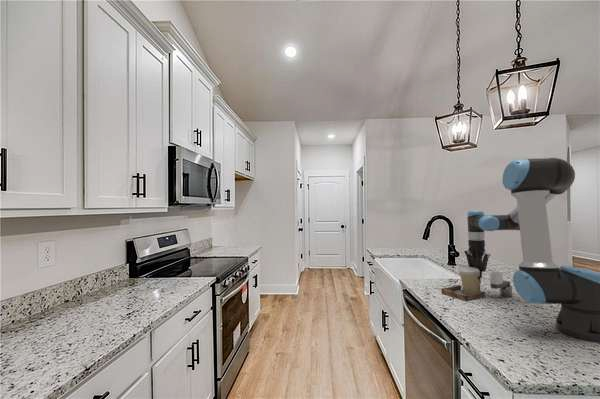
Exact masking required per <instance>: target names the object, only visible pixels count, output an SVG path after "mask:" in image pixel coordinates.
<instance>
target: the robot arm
mask: <svg viewBox="0 0 600 399" xmlns="http://www.w3.org/2000/svg"><path fill="white" fill-rule="evenodd" d="M575 178H576V171H575V169H574V167H573V165H571V163H569V162H568V161H567V160H566V159H565V160H564V159H562V158H559V157H549V158H548V157H546V158H521V159H514V160H512V161H510V162H509V163H508V164H507V165H506V167H505V169H504V170H503V173H502V184H503V186H504V188H505V189H506V190H509V191H510V193H511V196H512V197H514V198H515V199H516V207H514V208H513V209H512V211H510V212H509V214H493V215H489V214H487V215H485V213H484V211H483V210H468V212H467V217H466V218H467V238H468V241H467V242H468V243H467V244H468V249H467V250H464V254H465V256H466V260H467V264H468V267H473V268H477V269H479V271H480V285H481V284H482V278H483V272H485V271H487V267H488V262H489V259H490V256H491V254H490V253H488V252H486V249H485V248H486V240H485V232H494V231H519V234H520V242H521V252H522V259H523V260H522V262H521V263H520V264H519V265H518V268H519V269H518V270H517V271H515V272H514V273H513V275H512V283H513V286H514V289H515V291H516V293H517V295H519V297H520V298H521V299H523V301H524V302H527V303H529V304H539V305H560V309H559V311H558V314H557V317H556V319H555V328H556V330H558V331H559V332H561V333H563V334H565V335H567V336H570V337H573V338H577V339H580V340H583V341H584V340H585V341H590V342H595V343H596V342H597V343H600V272H598V271H596V270H591V269H588V268H582V267H576V266H575V267H574V266H569V265H568V266H567V265H561V266H559V265H557V264H556V263H555V262H554V259H553V252H552V243H551V237H550V235H551V234H550V228H549V220H548V211H547V210H548V209H547V205H548V203H550V202H551V201H552V200H554V198H555V197H556V196H557V195H558V196H559V195H563V194H565V192H567V191H568V190H569V189H571V187H572V185H573V183H574V182H575Z"/></svg>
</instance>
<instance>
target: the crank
mask: <svg viewBox="0 0 600 399" xmlns="http://www.w3.org/2000/svg"><path fill="white" fill-rule="evenodd" d="M489 275H490V288H491V289H495V290H498V289H499V290H500V288H503V287H507V286H511V281H509V280H503V272H499V271H494V272H490V274H489Z"/></svg>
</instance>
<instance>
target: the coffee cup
mask: <svg viewBox="0 0 600 399" xmlns="http://www.w3.org/2000/svg"><path fill="white" fill-rule="evenodd" d="M459 275H460V281H461V287H462V290H463V291H462V292H463V293H464V294H465V295H469V294H474V293H478V292H481V284H480V271H479V269H477V268H473V267H469V266H465V267H461V268H460V269H459Z"/></svg>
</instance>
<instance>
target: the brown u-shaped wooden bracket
mask: <svg viewBox="0 0 600 399" xmlns="http://www.w3.org/2000/svg"><path fill="white" fill-rule="evenodd" d="M459 291H462V284H459V285H453V286H448V287H443V288H441V294H442V295H446V296H448V297H452V298H455V299H458V300H462V301H463V302H464V301H465V302H470V301H474V300H478V299H482V298H485V297H486V292H485V291H483V290H482V291H480V292H478V293H474V294H462V293H459Z"/></svg>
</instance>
